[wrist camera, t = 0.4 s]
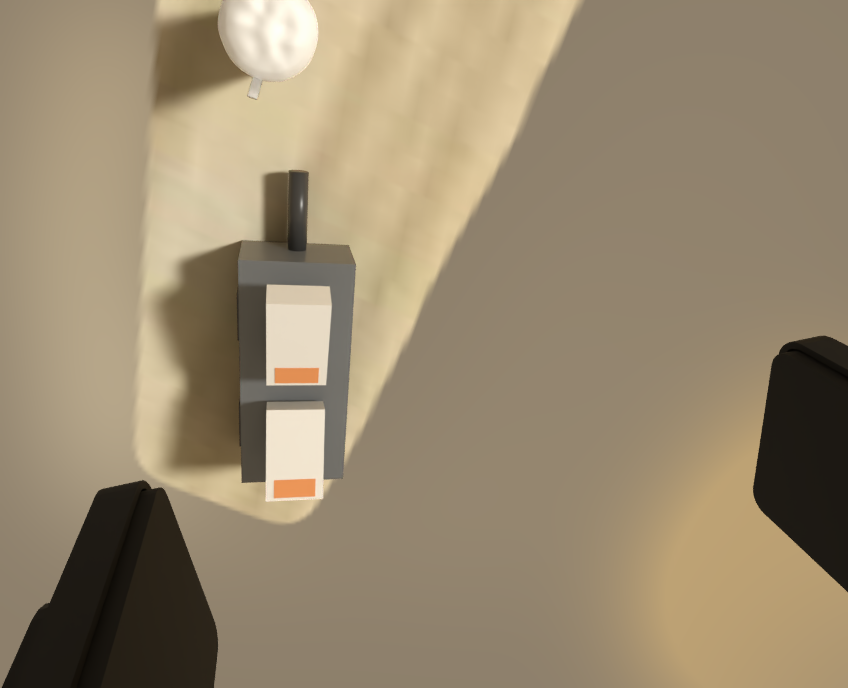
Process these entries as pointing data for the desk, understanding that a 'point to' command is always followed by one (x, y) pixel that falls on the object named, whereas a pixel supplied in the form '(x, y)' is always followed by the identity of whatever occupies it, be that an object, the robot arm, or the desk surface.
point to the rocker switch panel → (255, 271)
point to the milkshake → (268, 38)
